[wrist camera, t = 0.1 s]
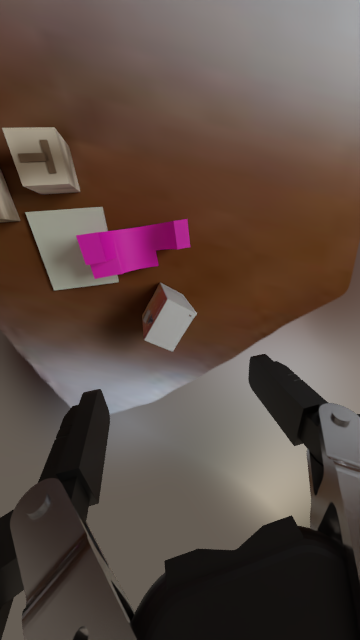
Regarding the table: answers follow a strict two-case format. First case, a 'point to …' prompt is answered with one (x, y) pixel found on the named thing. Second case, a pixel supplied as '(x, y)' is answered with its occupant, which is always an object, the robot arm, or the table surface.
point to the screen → (6, 203)
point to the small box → (166, 317)
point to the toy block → (131, 247)
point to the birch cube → (42, 160)
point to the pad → (67, 244)
